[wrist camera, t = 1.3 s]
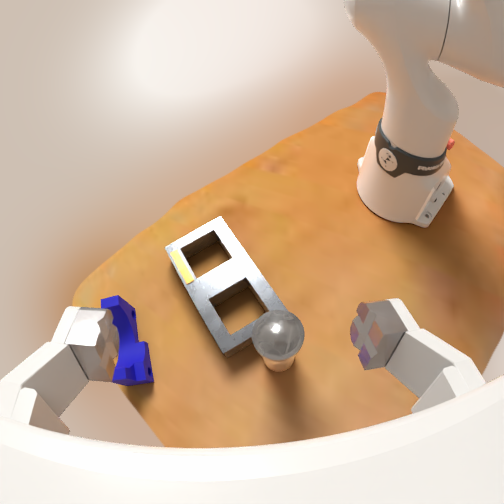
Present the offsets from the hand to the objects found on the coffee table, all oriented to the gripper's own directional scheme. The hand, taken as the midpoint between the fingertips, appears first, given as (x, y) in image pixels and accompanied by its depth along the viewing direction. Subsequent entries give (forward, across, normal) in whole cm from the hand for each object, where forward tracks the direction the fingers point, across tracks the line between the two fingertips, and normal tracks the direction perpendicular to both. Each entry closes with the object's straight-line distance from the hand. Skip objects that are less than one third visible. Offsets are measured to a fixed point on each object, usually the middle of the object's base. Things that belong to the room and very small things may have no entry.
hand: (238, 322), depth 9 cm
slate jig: (+28, -1, +22) cm, 36 cm away
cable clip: (+22, +13, +29) cm, 39 cm away
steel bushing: (+18, -8, +26) cm, 32 cm away
